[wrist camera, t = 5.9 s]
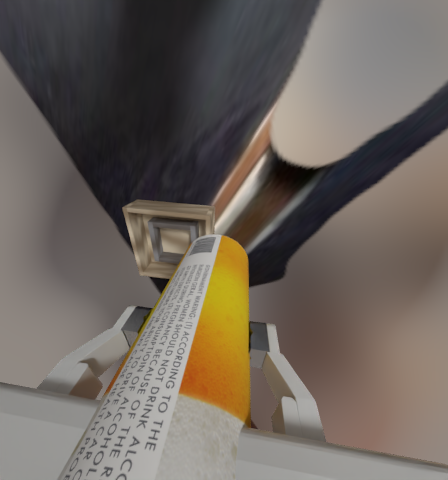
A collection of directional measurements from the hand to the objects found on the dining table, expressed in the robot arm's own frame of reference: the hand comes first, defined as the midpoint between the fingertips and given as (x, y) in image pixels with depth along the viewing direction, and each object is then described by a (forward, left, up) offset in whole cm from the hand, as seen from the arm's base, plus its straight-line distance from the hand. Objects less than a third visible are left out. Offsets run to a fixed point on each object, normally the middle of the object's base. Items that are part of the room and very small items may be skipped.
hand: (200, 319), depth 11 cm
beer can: (0, 0, -7) cm, 7 cm away
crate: (+9, -11, -25) cm, 29 cm away
